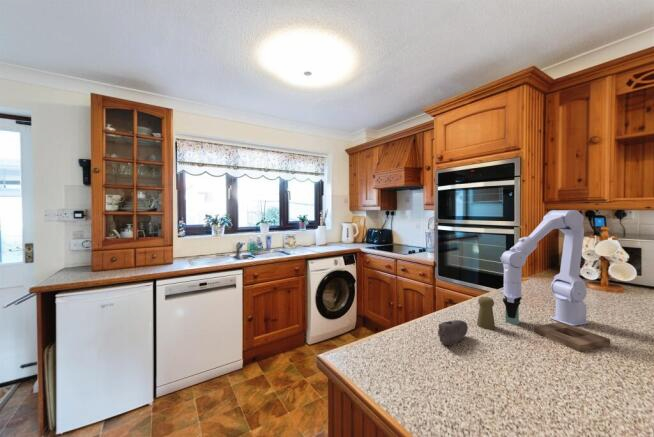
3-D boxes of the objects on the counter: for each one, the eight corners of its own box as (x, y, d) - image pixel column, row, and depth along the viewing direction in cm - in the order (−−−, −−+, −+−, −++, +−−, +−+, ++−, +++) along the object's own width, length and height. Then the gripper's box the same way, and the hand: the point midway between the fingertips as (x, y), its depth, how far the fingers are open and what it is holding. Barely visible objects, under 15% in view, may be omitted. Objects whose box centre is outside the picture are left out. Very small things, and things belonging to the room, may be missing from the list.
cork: (498, 330, 97) (498, 300, 97) (480, 328, 98) (480, 299, 98) (491, 323, 103) (491, 295, 103) (474, 322, 104) (474, 294, 104)
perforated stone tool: (459, 332, 96) (460, 313, 95) (474, 338, 91) (474, 318, 91) (432, 343, 88) (432, 322, 88) (446, 350, 84) (446, 328, 83)
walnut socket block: (561, 327, 99) (561, 321, 99) (609, 345, 86) (610, 339, 86) (533, 332, 95) (533, 326, 95) (579, 351, 82) (579, 345, 82)
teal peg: (506, 318, 107) (506, 301, 107) (518, 321, 105) (518, 304, 104) (505, 322, 104) (505, 304, 104) (517, 324, 101) (518, 306, 101)
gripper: (502, 276, 112) (502, 308, 112) (498, 283, 101) (497, 319, 101) (523, 279, 108) (522, 311, 108) (520, 287, 96) (520, 323, 97)
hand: (512, 315), depth 104 cm, fingers open, 4 cm apart
